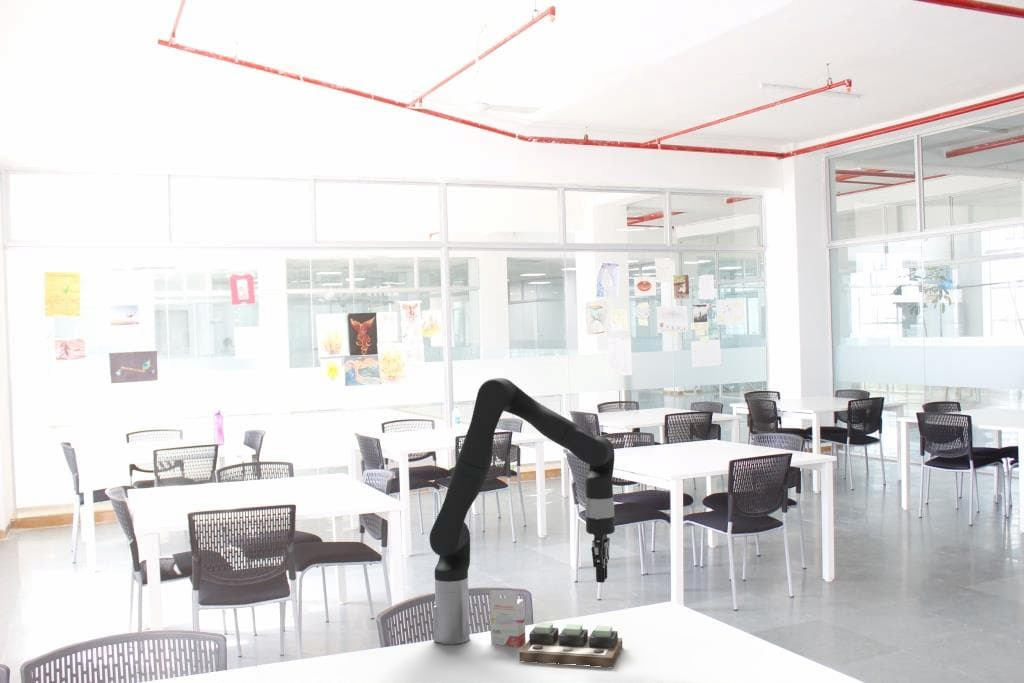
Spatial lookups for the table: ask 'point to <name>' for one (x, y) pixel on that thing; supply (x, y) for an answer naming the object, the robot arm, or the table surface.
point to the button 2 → (603, 631)
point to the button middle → (573, 630)
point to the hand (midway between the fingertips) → (601, 580)
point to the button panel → (572, 648)
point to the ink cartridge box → (507, 619)
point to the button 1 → (544, 628)
